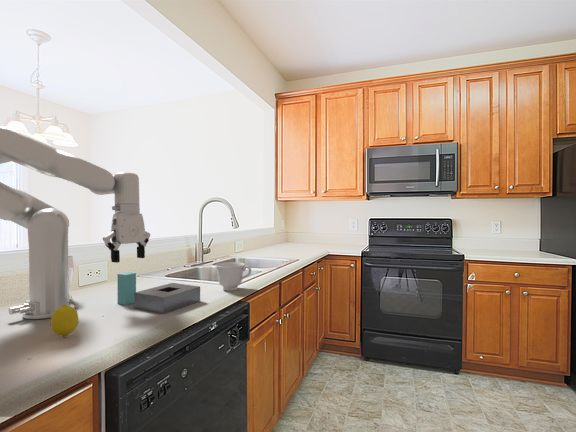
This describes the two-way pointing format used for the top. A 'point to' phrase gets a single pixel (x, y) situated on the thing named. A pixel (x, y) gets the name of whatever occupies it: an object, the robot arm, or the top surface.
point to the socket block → (166, 297)
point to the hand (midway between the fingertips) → (128, 260)
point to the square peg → (126, 288)
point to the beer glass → (70, 275)
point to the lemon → (64, 320)
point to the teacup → (231, 274)
